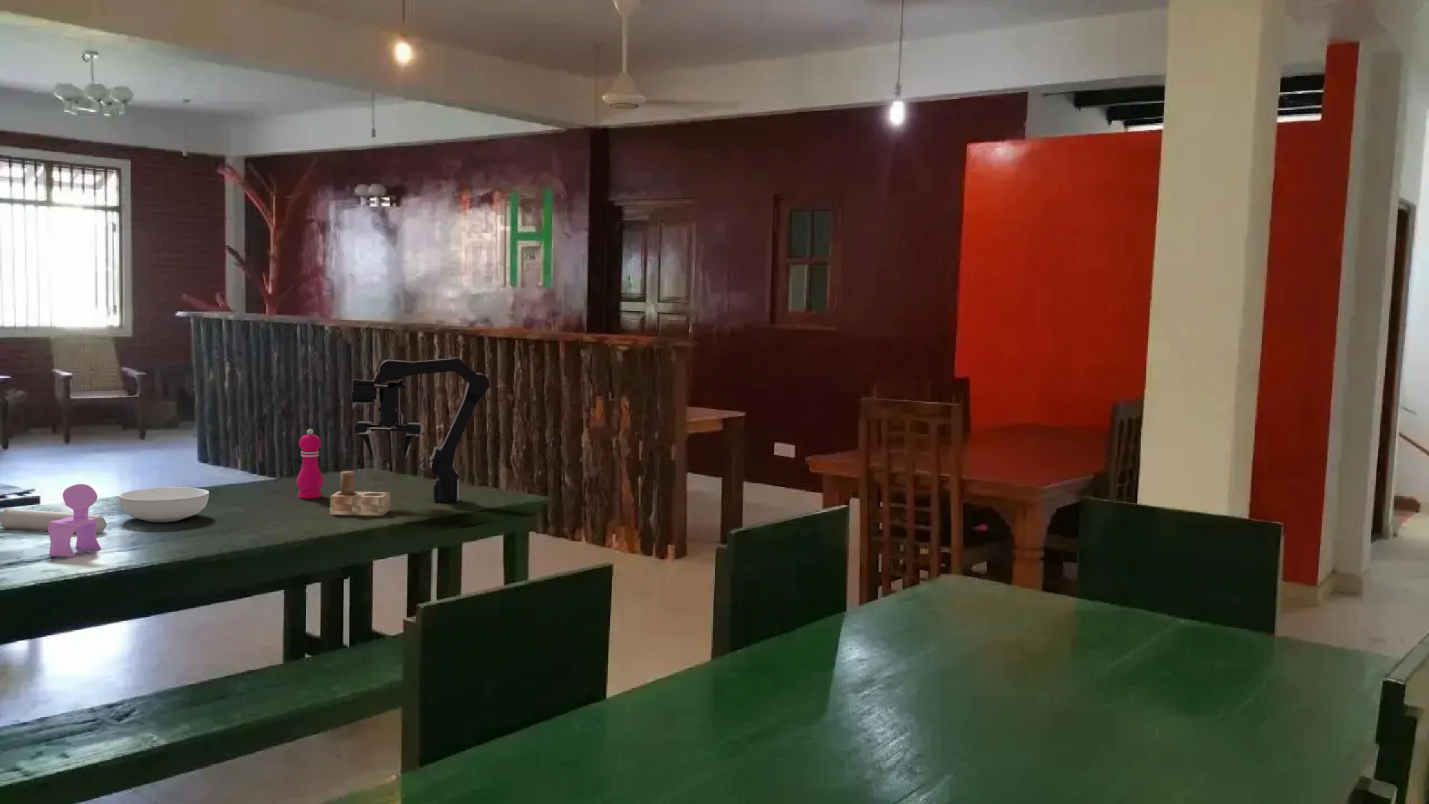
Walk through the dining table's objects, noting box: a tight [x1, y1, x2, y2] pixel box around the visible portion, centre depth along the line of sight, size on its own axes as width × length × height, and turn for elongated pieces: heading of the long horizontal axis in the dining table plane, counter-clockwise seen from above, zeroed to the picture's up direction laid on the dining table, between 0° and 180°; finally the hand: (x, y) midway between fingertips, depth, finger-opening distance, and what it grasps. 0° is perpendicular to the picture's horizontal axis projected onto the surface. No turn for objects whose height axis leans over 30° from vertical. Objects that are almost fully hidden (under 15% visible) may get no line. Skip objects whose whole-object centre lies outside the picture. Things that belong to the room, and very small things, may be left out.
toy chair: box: [47, 483, 102, 558], centre depth 242 cm, size 8×9×15 cm
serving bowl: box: [118, 486, 210, 523], centre depth 281 cm, size 21×21×7 cm
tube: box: [0, 507, 107, 535], centre depth 263 cm, size 5×5×25 cm
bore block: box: [329, 490, 391, 517], centre depth 298 cm, size 14×8×5 cm, turn 94°
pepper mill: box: [296, 428, 324, 500], centre depth 318 cm, size 7×7×20 cm
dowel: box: [340, 470, 356, 496], centre depth 298 cm, size 4×4×10 cm
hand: (388, 457), depth 313 cm, fingers open, 9 cm apart
